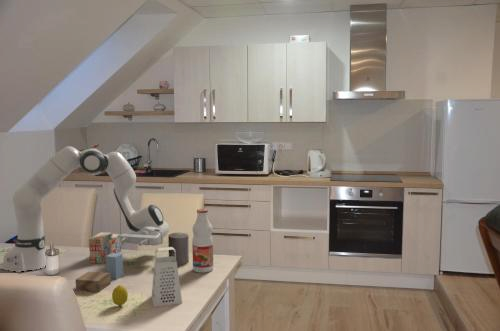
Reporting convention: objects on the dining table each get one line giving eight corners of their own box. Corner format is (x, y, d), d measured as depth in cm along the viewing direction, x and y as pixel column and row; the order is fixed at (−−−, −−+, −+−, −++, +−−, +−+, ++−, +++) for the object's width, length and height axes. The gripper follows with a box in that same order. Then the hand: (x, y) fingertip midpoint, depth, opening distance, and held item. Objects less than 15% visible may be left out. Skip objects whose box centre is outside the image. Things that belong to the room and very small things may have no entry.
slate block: (106, 278, 204) (105, 256, 203) (113, 274, 208) (112, 252, 207) (116, 279, 202) (115, 257, 201) (123, 276, 207) (122, 254, 206)
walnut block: (76, 291, 189) (75, 279, 189) (89, 283, 199) (88, 271, 199) (98, 293, 187) (98, 281, 187) (110, 284, 197) (110, 272, 197)
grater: (182, 303, 176) (181, 251, 174) (153, 306, 173) (152, 253, 171) (178, 293, 186) (177, 244, 184) (151, 296, 183) (150, 246, 181)
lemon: (114, 303, 176) (113, 282, 175) (129, 303, 176) (128, 282, 176) (111, 309, 170) (110, 288, 170) (126, 308, 171) (125, 287, 170)
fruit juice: (217, 269, 215) (216, 209, 212) (201, 274, 208) (200, 212, 205) (205, 265, 221) (204, 206, 219) (188, 269, 215) (187, 209, 212)
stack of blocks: (110, 250, 247) (109, 227, 246) (121, 251, 246) (120, 228, 245) (89, 263, 226) (88, 238, 225) (101, 263, 225) (100, 238, 224)
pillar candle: (164, 262, 225) (163, 232, 224) (180, 258, 232) (180, 228, 231) (177, 267, 219) (176, 236, 217) (193, 262, 226) (192, 232, 224)
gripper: (128, 228, 232) (111, 234, 219) (165, 230, 225) (149, 237, 212) (129, 240, 232) (112, 248, 219) (165, 243, 225) (150, 251, 212)
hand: (130, 243), depth 216 cm, fingers open, 8 cm apart
